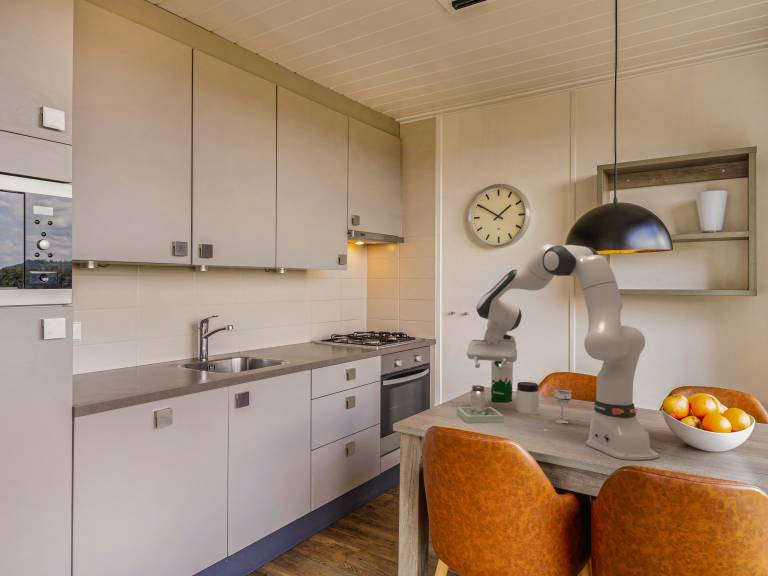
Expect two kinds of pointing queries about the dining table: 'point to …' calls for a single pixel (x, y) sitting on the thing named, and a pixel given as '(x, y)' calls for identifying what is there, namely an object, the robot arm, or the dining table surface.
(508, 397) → the milk carton
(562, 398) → the wineglass
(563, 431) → the dining table surface
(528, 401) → the jar
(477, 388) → the shaker
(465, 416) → the tray
